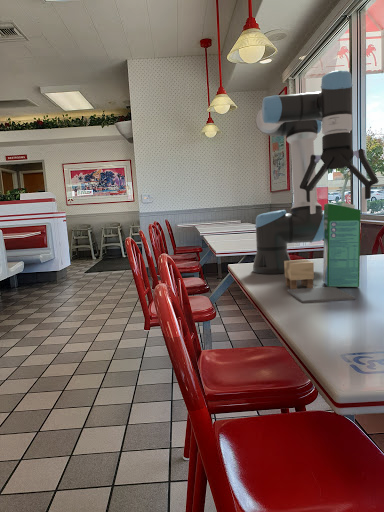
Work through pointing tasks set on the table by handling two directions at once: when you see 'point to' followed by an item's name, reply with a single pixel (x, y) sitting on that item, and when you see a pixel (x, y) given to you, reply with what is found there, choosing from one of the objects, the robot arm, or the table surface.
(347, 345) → the table surface
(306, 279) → the footstool
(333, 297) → the mat
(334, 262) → the milk carton
